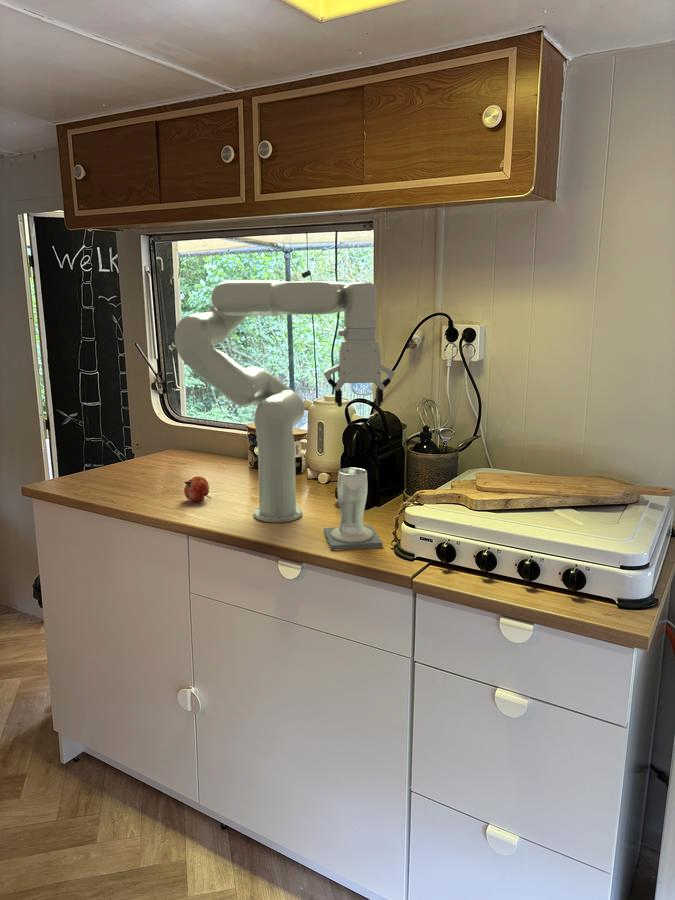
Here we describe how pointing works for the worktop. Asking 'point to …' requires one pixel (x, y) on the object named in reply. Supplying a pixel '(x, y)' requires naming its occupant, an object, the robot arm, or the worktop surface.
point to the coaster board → (352, 539)
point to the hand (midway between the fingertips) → (358, 405)
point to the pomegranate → (196, 489)
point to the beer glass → (352, 500)
